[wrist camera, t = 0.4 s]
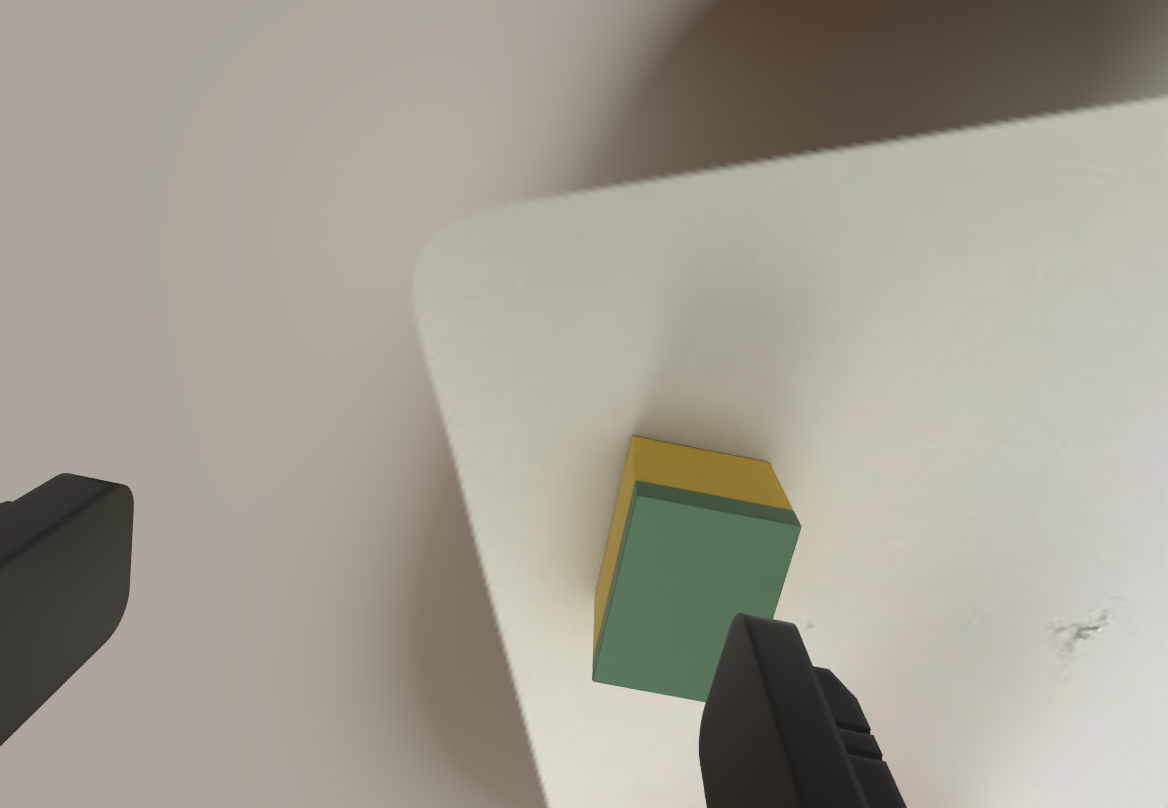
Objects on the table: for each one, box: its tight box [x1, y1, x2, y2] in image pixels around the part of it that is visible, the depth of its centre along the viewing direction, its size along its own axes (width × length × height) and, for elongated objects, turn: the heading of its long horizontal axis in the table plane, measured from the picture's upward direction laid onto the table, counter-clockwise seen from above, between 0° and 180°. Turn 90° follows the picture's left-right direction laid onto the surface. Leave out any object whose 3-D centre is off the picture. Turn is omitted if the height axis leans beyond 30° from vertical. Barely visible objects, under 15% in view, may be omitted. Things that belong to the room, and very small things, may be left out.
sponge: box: [592, 436, 801, 702], centre depth 24 cm, size 6×4×4 cm
